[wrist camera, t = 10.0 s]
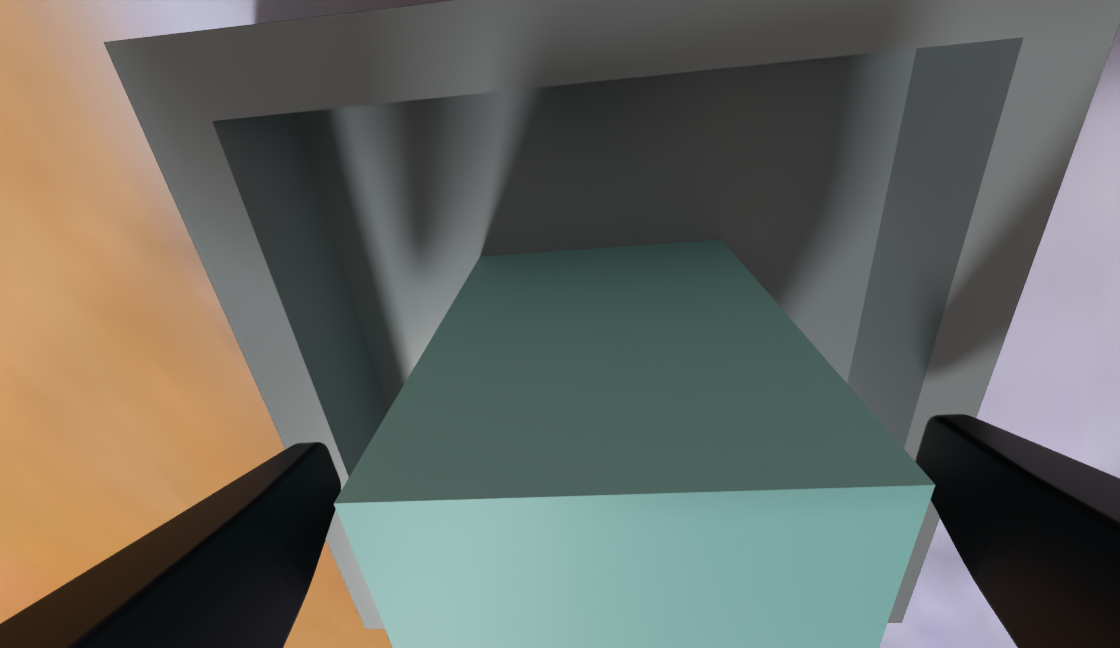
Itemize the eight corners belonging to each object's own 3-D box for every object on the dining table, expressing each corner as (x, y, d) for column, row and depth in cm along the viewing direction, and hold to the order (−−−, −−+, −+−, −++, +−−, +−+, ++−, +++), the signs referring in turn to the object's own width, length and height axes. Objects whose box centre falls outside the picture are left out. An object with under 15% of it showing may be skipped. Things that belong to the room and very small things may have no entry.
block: (709, 434, 11) (832, 779, 5) (511, 441, 11) (444, 774, 6) (721, 239, 9) (935, 484, 3) (480, 256, 9) (333, 503, 4)
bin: (836, 511, 13) (901, 622, 10) (407, 524, 14) (365, 628, 11) (958, -27, 8) (1158, -84, 5) (251, 54, 9) (103, 42, 6)
